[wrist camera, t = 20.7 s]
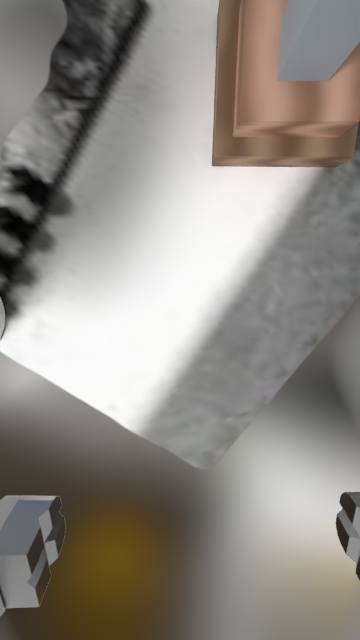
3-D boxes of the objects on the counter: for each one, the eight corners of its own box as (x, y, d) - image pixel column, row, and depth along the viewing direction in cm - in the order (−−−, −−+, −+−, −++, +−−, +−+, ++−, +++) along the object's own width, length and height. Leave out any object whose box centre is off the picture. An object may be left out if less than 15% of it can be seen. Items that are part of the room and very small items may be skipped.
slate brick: (276, 80, 28) (324, -13, 18) (281, 18, 27) (334, -116, 17) (328, 80, 28) (403, -13, 18) (335, 18, 27) (420, -118, 17)
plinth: (212, 166, 37) (218, 142, 29) (217, 16, 33) (226, -56, 26) (336, 167, 37) (376, 143, 29) (355, 16, 33) (407, -58, 25)
